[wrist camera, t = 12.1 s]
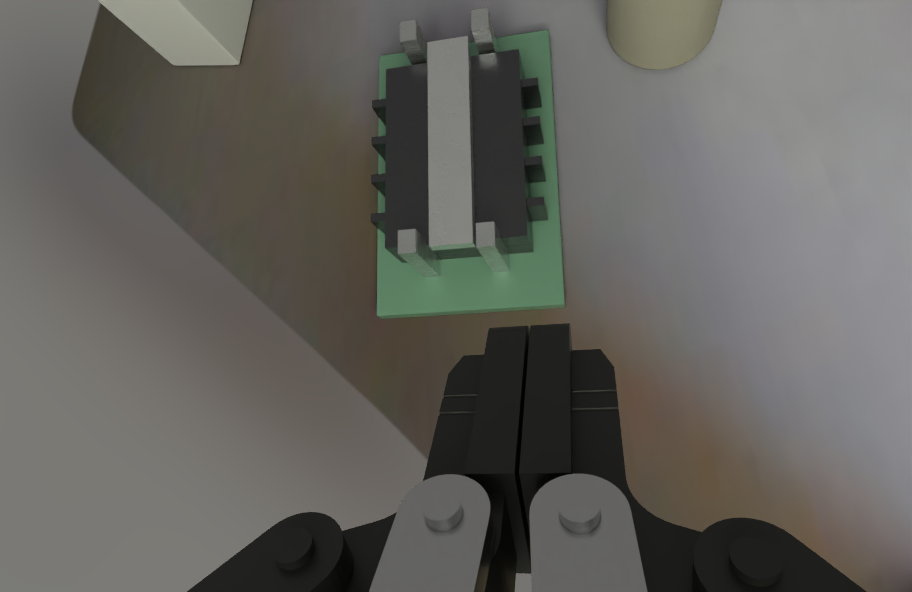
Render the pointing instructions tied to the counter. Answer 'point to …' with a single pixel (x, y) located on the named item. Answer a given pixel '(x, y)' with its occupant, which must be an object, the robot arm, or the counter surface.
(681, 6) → the travel mug
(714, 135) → the counter surface
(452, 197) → the retention strap
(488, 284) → the circuit board
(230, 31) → the milk carton
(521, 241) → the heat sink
